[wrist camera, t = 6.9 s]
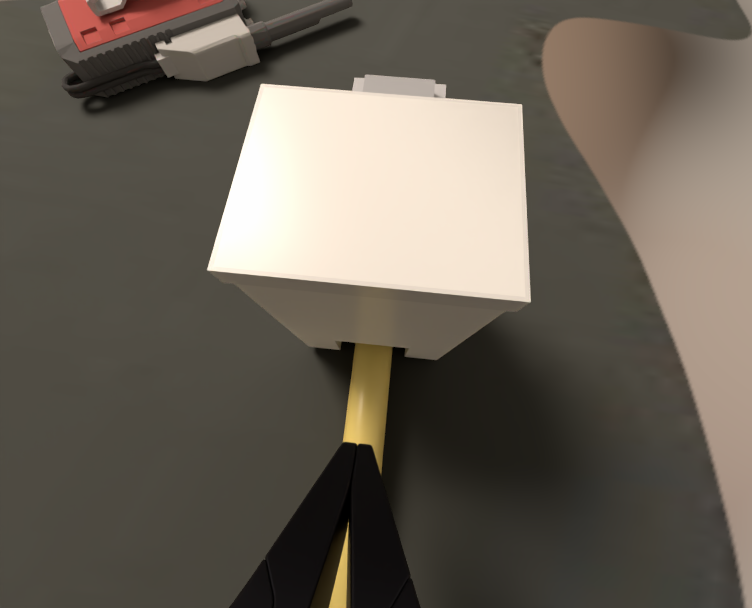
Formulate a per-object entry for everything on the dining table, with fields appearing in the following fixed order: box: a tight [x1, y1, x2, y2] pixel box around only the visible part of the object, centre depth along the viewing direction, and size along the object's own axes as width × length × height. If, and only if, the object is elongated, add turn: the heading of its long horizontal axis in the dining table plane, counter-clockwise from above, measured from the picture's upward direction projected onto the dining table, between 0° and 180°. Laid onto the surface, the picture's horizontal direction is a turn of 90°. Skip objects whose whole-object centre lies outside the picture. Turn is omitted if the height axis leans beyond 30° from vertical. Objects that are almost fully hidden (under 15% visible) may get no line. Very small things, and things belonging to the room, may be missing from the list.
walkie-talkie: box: [40, 0, 352, 98], centre depth 21 cm, size 9×4×20 cm
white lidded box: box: [207, 84, 531, 360], centre depth 12 cm, size 5×7×10 cm
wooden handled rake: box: [329, 343, 393, 608], centre depth 13 cm, size 26×8×2 cm, turn 174°
